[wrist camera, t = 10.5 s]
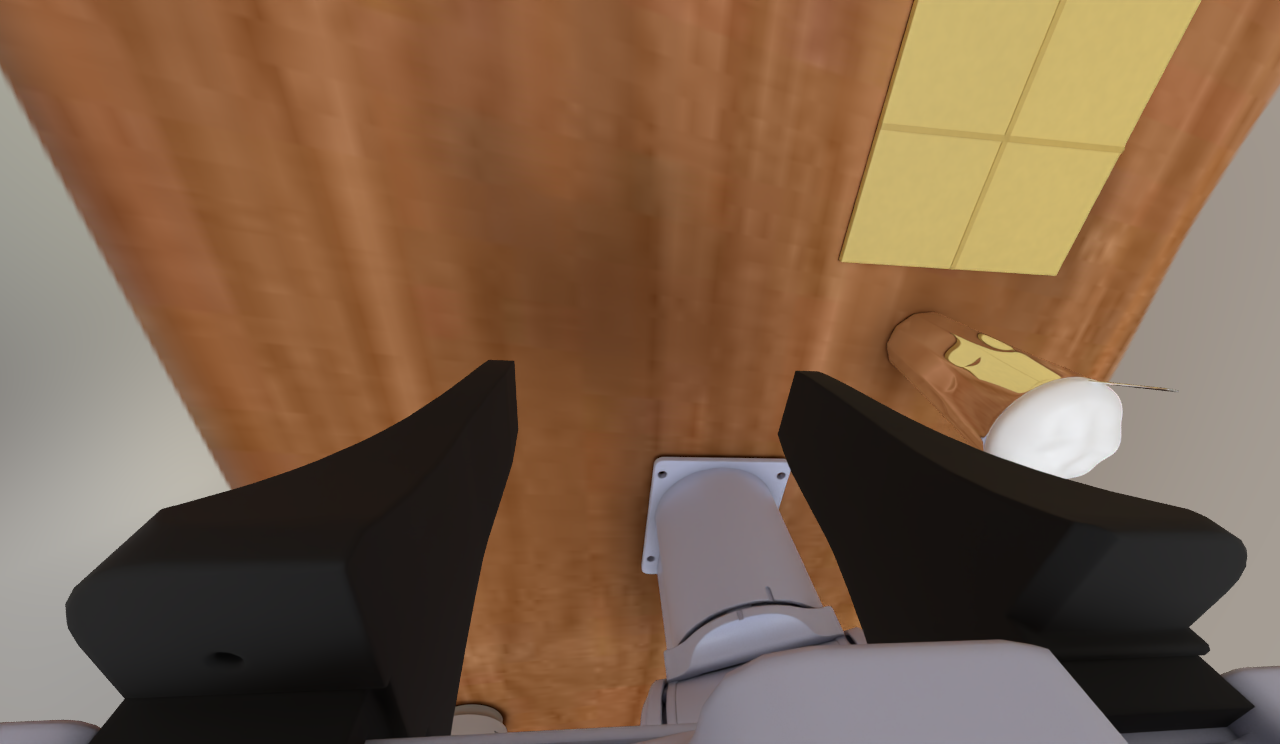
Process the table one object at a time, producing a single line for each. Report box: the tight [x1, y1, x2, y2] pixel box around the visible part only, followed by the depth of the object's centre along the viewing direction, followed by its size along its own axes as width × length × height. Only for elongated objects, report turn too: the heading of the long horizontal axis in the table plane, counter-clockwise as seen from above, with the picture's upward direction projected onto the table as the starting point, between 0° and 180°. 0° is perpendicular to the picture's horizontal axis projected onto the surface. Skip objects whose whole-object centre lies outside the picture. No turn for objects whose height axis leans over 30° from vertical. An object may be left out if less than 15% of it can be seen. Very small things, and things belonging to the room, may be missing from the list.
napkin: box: [839, 0, 1201, 276], centre depth 19 cm, size 11×11×1 cm
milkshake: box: [887, 312, 1179, 479], centre depth 19 cm, size 4×5×10 cm
